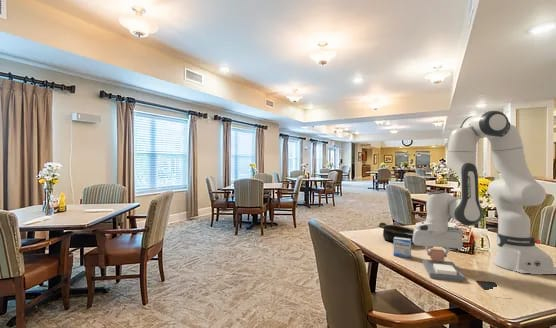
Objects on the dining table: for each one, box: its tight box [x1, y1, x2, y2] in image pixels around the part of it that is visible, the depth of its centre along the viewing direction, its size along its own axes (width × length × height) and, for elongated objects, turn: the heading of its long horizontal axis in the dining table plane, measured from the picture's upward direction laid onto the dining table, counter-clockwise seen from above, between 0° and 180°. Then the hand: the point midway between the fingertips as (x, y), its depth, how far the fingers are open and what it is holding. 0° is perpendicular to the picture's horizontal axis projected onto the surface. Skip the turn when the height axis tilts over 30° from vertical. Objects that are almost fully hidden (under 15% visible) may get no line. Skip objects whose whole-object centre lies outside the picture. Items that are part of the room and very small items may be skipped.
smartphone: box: [475, 279, 498, 291], centre depth 105 cm, size 7×1×14 cm
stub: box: [429, 247, 445, 261], centre depth 131 cm, size 5×5×4 cm
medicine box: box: [392, 237, 412, 259], centre depth 142 cm, size 8×4×9 cm, turn 62°
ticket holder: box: [422, 258, 465, 282], centre depth 121 cm, size 12×17×4 cm
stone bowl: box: [377, 222, 416, 244], centre depth 169 cm, size 25×25×9 cm
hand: (436, 256), depth 131 cm, fingers closed on stub, 5 cm apart
